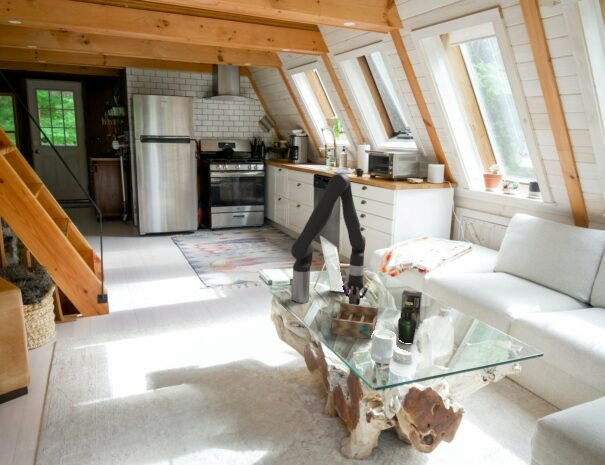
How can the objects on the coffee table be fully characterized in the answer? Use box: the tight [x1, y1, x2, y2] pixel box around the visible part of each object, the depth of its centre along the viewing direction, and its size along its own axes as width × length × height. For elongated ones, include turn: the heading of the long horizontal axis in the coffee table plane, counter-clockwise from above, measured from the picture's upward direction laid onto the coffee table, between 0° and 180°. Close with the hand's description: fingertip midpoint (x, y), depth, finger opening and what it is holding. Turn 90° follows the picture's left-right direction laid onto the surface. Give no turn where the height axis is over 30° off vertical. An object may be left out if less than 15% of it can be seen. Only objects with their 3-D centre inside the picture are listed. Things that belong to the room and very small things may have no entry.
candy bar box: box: [338, 262, 350, 294], centre depth 278 cm, size 11×5×16 cm, turn 84°
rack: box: [331, 302, 379, 340], centre depth 229 cm, size 19×23×7 cm
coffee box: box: [400, 290, 423, 329], centre depth 234 cm, size 9×6×16 cm
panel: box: [349, 292, 357, 305], centre depth 251 cm, size 3×12×10 cm, turn 166°
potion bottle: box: [397, 302, 417, 344], centre depth 214 cm, size 8×8×18 cm
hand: (354, 304), depth 252 cm, fingers closed on panel, 3 cm apart
